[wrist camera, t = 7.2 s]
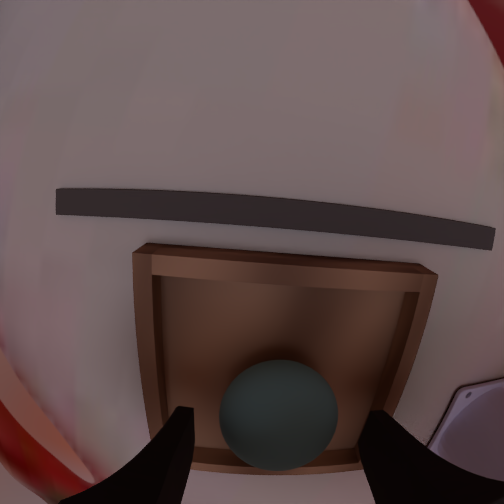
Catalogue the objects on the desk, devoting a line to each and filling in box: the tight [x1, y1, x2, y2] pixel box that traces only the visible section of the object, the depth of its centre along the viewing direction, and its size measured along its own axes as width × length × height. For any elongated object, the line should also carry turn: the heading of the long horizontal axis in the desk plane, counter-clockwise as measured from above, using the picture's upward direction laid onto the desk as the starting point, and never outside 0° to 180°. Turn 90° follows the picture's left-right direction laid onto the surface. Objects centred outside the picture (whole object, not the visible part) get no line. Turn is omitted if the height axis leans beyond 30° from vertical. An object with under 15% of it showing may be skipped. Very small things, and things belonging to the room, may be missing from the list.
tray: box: [132, 243, 438, 475], centre depth 14 cm, size 13×13×2 cm
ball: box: [219, 360, 338, 471], centre depth 12 cm, size 5×5×5 cm
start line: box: [56, 189, 496, 251], centre depth 13 cm, size 22×1×1 cm, turn 85°
